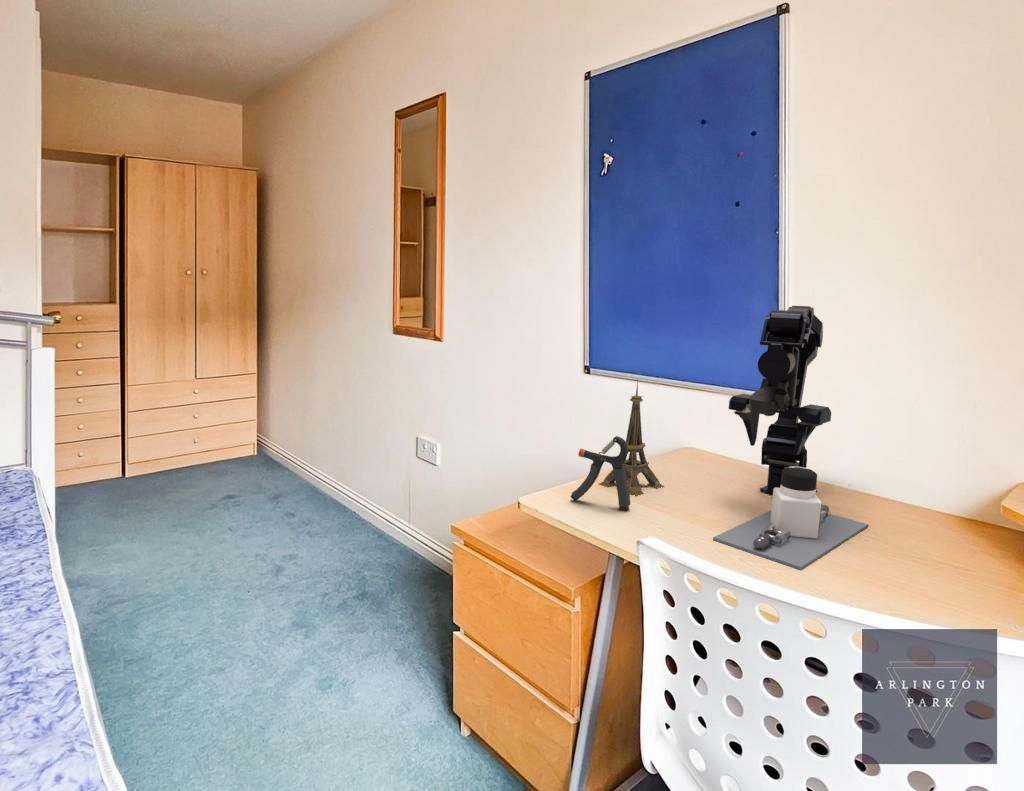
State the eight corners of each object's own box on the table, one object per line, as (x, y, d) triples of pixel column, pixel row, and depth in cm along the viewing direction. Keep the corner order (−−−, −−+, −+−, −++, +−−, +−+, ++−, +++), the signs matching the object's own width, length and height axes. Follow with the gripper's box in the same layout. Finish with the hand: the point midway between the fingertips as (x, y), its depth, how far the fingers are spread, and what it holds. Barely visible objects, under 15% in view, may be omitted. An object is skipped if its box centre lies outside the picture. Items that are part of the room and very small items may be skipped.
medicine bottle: (818, 539, 118) (825, 476, 116) (777, 535, 119) (783, 473, 117) (808, 525, 125) (815, 465, 123) (769, 521, 126) (775, 462, 124)
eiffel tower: (626, 476, 156) (632, 373, 151) (664, 487, 148) (671, 379, 144) (598, 484, 149) (603, 377, 144) (636, 496, 141) (643, 383, 137)
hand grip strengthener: (572, 498, 138) (575, 430, 136) (630, 508, 133) (634, 437, 130) (569, 502, 136) (572, 432, 134) (627, 512, 131) (632, 440, 128)
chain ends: (816, 510, 133) (817, 501, 133) (834, 515, 131) (835, 506, 130) (746, 547, 114) (747, 536, 113) (766, 554, 111) (767, 543, 111)
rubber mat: (787, 504, 138) (787, 502, 138) (868, 526, 126) (868, 524, 126) (712, 539, 118) (713, 537, 118) (800, 569, 106) (800, 567, 106)
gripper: (717, 371, 130) (711, 446, 133) (811, 384, 117) (802, 467, 120) (745, 367, 138) (738, 438, 140) (836, 378, 124) (827, 457, 127)
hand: (774, 450), depth 132 cm, fingers open, 9 cm apart
